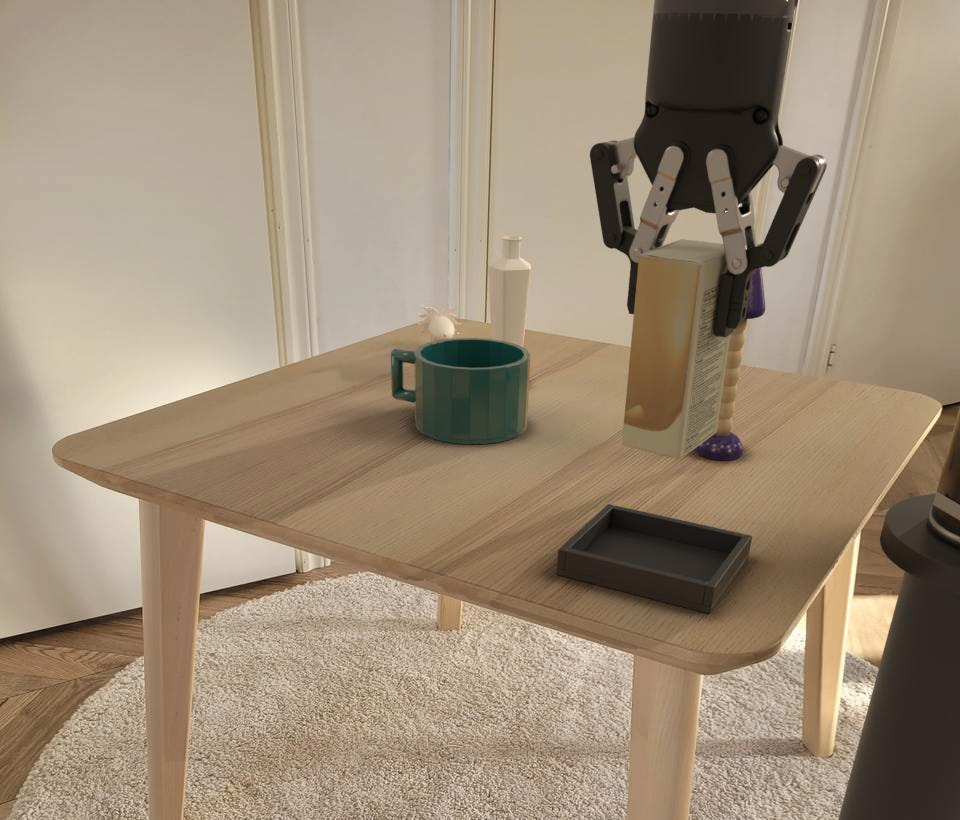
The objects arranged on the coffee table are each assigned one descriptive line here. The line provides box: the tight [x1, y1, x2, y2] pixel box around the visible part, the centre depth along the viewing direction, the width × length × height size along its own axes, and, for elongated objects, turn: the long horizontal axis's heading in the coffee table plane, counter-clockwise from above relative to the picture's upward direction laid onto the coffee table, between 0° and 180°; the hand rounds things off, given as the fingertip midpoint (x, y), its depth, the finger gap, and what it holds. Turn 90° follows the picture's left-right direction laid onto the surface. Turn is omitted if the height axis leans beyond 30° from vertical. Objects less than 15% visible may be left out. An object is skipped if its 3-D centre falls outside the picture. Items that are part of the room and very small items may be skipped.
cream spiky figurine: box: [416, 305, 462, 343], centre depth 117 cm, size 12×5×5 cm, turn 6°
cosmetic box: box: [621, 238, 730, 460], centre depth 64 cm, size 6×4×12 cm
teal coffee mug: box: [390, 337, 531, 445], centre depth 96 cm, size 14×11×7 cm
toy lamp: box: [695, 268, 766, 461], centre depth 88 cm, size 5×5×17 cm
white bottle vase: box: [487, 235, 532, 348], centre depth 105 cm, size 5×4×15 cm
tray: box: [556, 503, 753, 614], centre depth 71 cm, size 11×9×2 cm
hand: (684, 327), depth 63 cm, fingers closed on cosmetic box, 4 cm apart
